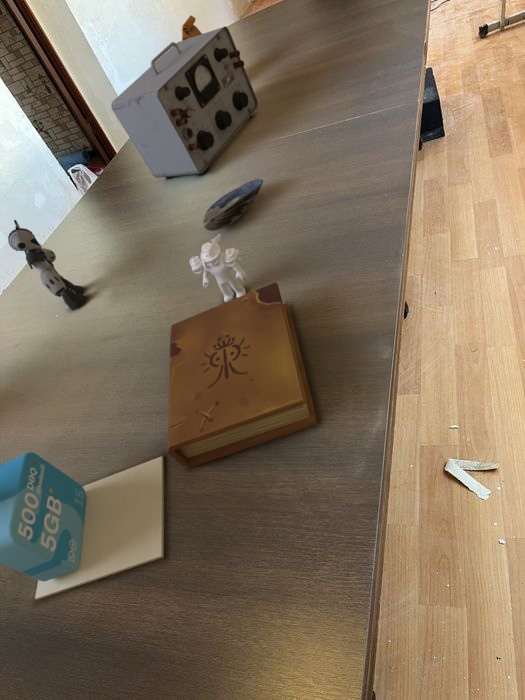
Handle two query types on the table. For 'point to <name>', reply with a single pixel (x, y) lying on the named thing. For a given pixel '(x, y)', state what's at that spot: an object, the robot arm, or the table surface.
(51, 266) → the robot
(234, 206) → the seashell
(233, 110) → the vintage electronic device
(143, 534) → the mat
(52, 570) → the data package
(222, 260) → the hat wearing toy figure
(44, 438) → the table surface
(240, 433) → the diary
